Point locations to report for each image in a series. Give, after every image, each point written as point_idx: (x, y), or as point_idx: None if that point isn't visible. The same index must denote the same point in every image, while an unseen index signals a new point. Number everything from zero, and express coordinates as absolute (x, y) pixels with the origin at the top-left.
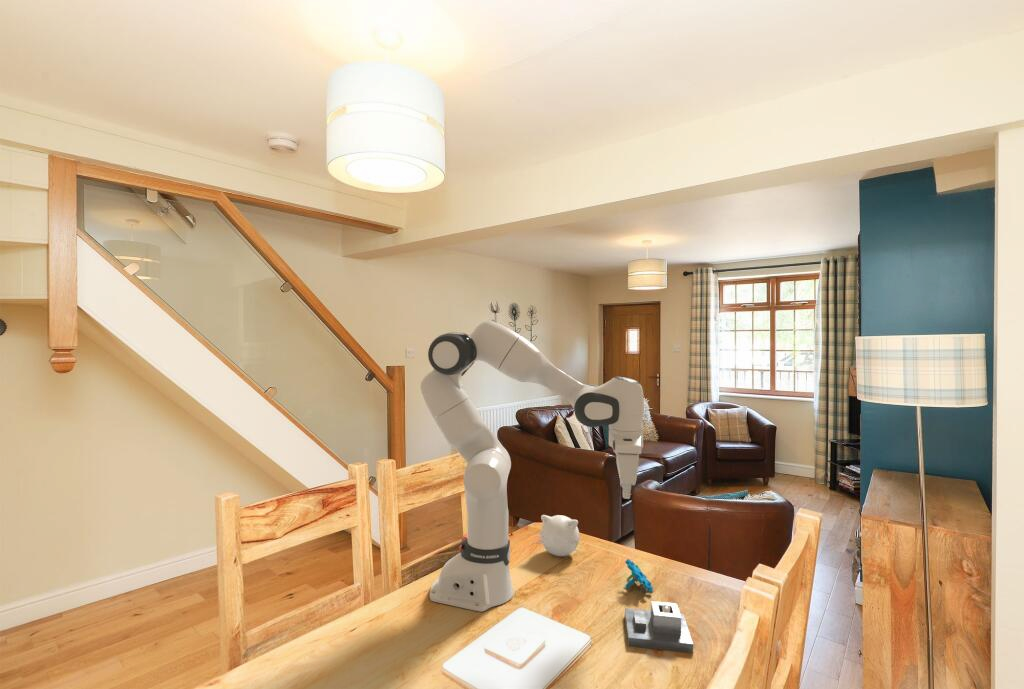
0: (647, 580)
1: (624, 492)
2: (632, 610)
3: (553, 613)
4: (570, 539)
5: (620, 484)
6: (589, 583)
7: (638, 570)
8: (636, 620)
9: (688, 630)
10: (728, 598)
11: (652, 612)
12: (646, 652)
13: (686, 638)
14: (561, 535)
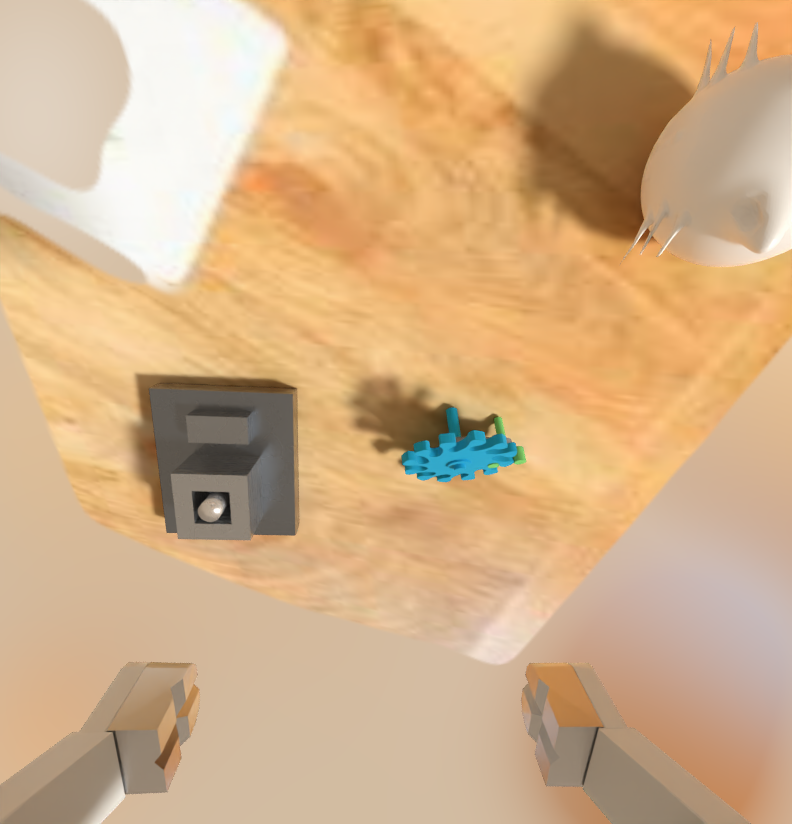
0: (468, 474)
1: (87, 734)
2: (285, 413)
3: (271, 168)
4: (673, 220)
5: (563, 671)
6: (469, 297)
7: (468, 462)
8: (198, 419)
9: None
10: (421, 636)
11: (213, 469)
12: (148, 422)
13: None
14: (687, 169)
